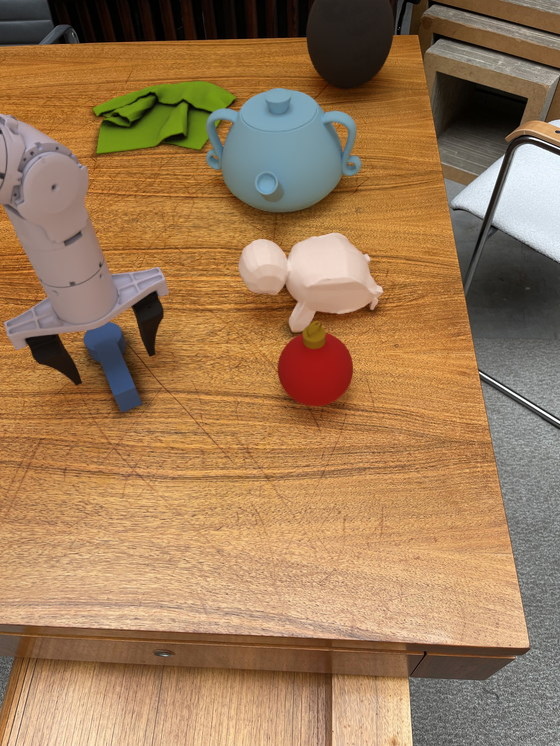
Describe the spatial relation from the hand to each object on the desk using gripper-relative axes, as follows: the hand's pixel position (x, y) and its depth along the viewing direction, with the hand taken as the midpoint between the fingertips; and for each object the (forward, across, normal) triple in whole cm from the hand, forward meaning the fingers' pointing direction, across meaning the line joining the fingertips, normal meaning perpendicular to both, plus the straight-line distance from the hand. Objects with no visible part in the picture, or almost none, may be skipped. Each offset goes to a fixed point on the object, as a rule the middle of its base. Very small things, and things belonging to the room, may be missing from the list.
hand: (113, 363), depth 64 cm
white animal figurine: (+2, -22, 0) cm, 22 cm away
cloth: (+2, -19, -44) cm, 48 cm away
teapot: (+2, -27, -18) cm, 32 cm away
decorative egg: (+2, -48, -37) cm, 60 cm away
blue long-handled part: (+2, 0, 0) cm, 2 cm away
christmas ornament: (+2, -17, +12) cm, 21 cm away
